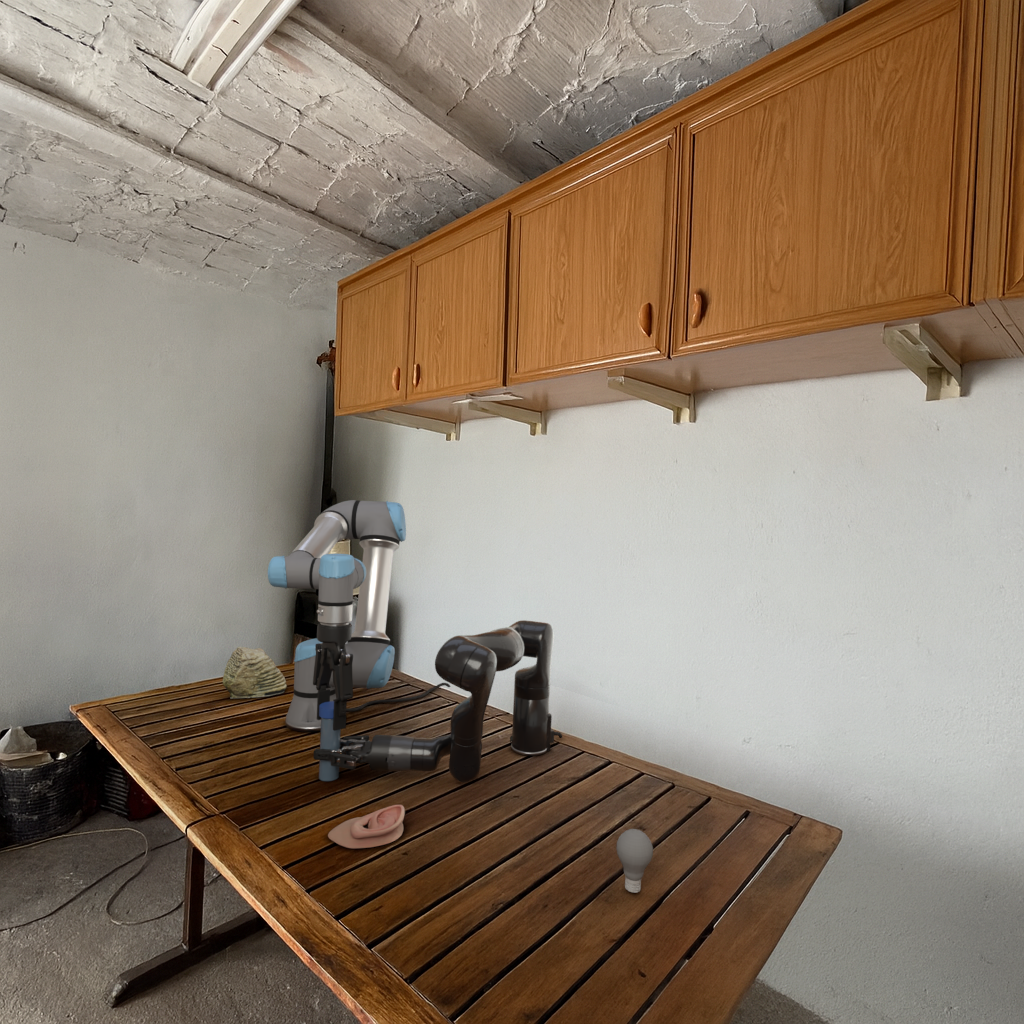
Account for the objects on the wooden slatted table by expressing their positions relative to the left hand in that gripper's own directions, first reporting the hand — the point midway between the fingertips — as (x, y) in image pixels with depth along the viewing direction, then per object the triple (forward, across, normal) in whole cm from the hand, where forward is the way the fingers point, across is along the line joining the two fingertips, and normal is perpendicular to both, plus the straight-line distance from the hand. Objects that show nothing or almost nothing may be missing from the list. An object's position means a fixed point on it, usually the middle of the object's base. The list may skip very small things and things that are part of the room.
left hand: (330, 723), depth 143 cm
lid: (-4, 0, 0) cm, 4 cm away
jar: (+12, 0, 0) cm, 12 cm away
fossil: (+12, -67, +8) cm, 68 cm away
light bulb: (+12, +69, +20) cm, 73 cm away
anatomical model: (+12, +27, -6) cm, 30 cm away
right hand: (+6, -2, -2) cm, 7 cm away
